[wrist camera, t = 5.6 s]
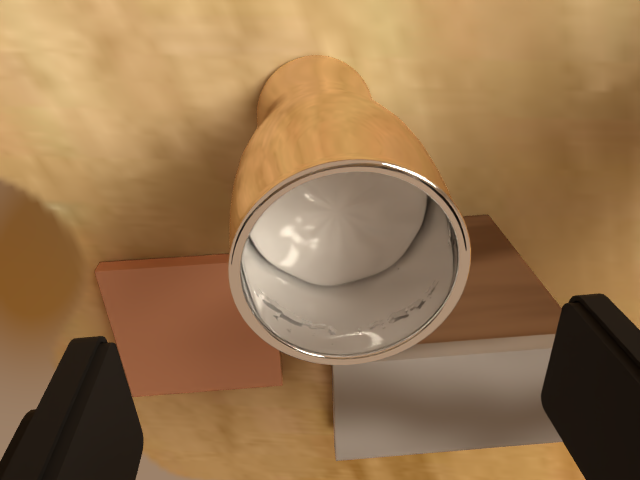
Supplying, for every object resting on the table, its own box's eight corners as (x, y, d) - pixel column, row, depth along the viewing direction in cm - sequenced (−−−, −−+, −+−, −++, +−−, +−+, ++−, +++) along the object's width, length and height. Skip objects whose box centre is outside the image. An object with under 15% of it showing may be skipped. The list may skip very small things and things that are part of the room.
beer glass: (261, 186, 28) (247, 387, 15) (235, 56, 25) (189, 174, 12) (385, 167, 28) (476, 353, 15) (376, 35, 25) (484, 131, 12)
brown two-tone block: (314, 221, 30) (333, 365, 20) (494, 209, 30) (603, 344, 20) (317, 301, 33) (336, 463, 22) (481, 289, 33) (572, 442, 23)
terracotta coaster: (99, 262, 30) (94, 271, 29) (270, 251, 31) (270, 260, 30) (136, 385, 35) (132, 396, 34) (282, 374, 36) (282, 385, 35)
